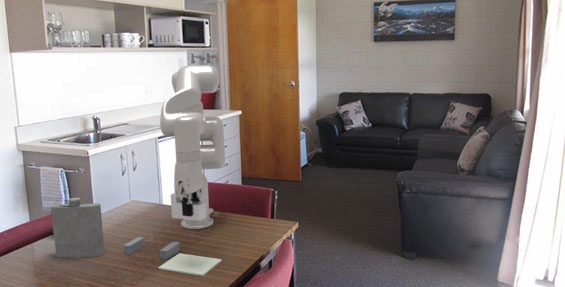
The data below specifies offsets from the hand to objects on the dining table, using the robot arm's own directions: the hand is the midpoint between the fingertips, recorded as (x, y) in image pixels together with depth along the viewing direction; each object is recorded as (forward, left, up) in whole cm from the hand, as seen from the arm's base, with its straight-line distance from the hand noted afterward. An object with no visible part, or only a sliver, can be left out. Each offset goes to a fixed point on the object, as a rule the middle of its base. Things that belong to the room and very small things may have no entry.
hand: (191, 212), depth 157 cm
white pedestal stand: (0, -1, -2) cm, 2 cm away
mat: (0, -1, -17) cm, 17 cm away
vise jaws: (-5, -19, -17) cm, 26 cm away
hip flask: (+5, -41, -18) cm, 45 cm away
